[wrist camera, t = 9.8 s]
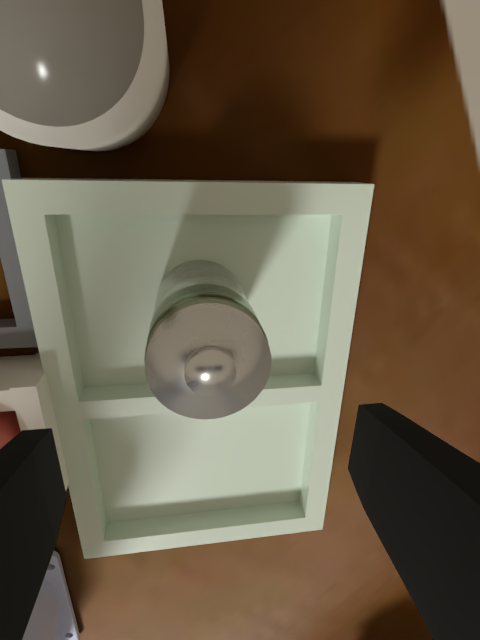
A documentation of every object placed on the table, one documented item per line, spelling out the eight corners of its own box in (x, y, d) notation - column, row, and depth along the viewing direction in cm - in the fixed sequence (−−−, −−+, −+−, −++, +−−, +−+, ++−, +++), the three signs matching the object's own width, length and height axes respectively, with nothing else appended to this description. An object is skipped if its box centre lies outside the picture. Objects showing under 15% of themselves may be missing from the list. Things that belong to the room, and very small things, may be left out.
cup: (173, 153, 15) (170, 149, 10) (15, 149, 14) (-63, 144, 10) (164, -37, 13) (155, -150, 8) (-25, -55, 12) (-155, -193, 7)
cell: (245, 338, 18) (275, 420, 12) (160, 345, 18) (150, 435, 12) (243, 256, 17) (277, 306, 11) (150, 261, 16) (132, 317, 10)
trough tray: (312, 504, 24) (322, 529, 23) (91, 530, 22) (84, 559, 21) (355, 182, 17) (374, 184, 15) (21, 177, 15) (1, 179, 13)
